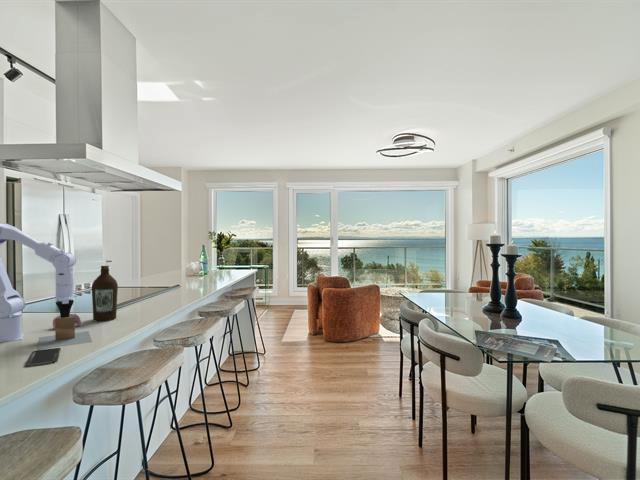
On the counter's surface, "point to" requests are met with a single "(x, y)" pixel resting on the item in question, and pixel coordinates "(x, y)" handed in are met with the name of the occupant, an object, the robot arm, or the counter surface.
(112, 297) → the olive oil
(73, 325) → the walnut tile
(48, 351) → the phone
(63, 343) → the rubber mat
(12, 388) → the counter surface
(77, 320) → the video game controller
